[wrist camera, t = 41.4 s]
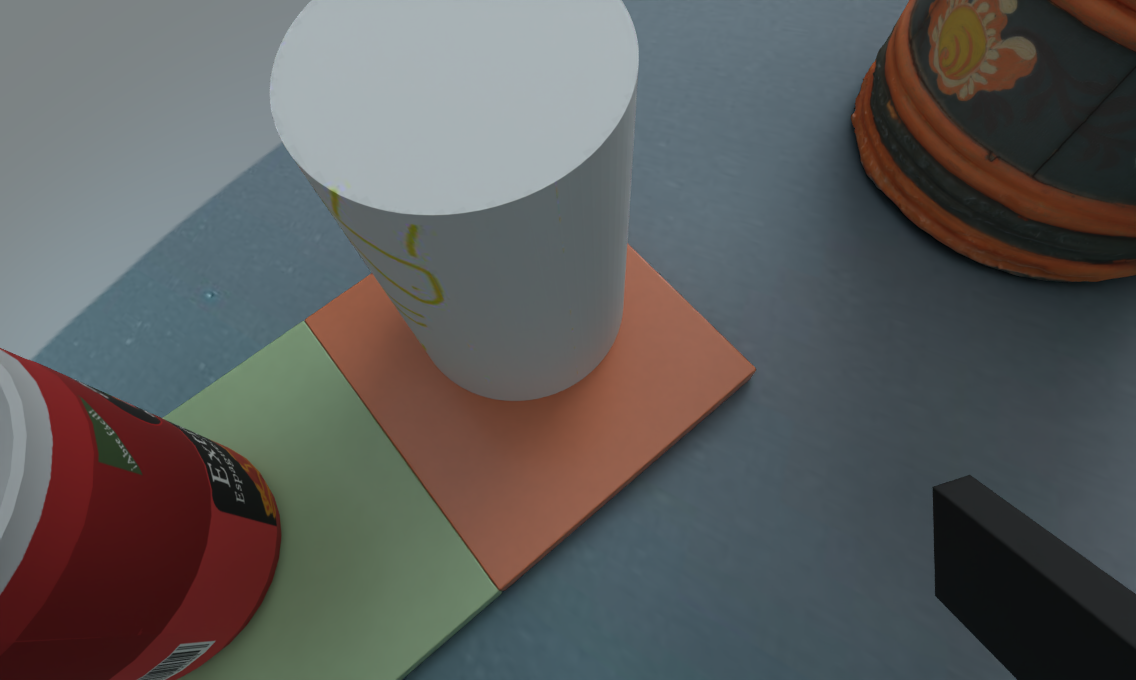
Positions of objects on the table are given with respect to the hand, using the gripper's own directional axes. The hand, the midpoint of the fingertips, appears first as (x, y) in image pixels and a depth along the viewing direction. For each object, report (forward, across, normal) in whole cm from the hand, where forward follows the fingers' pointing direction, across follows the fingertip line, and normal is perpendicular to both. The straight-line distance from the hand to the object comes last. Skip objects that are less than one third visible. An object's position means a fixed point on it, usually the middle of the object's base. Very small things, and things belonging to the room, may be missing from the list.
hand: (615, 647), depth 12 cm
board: (+13, -6, -2) cm, 14 cm away
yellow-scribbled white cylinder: (+15, 0, +2) cm, 15 cm away
